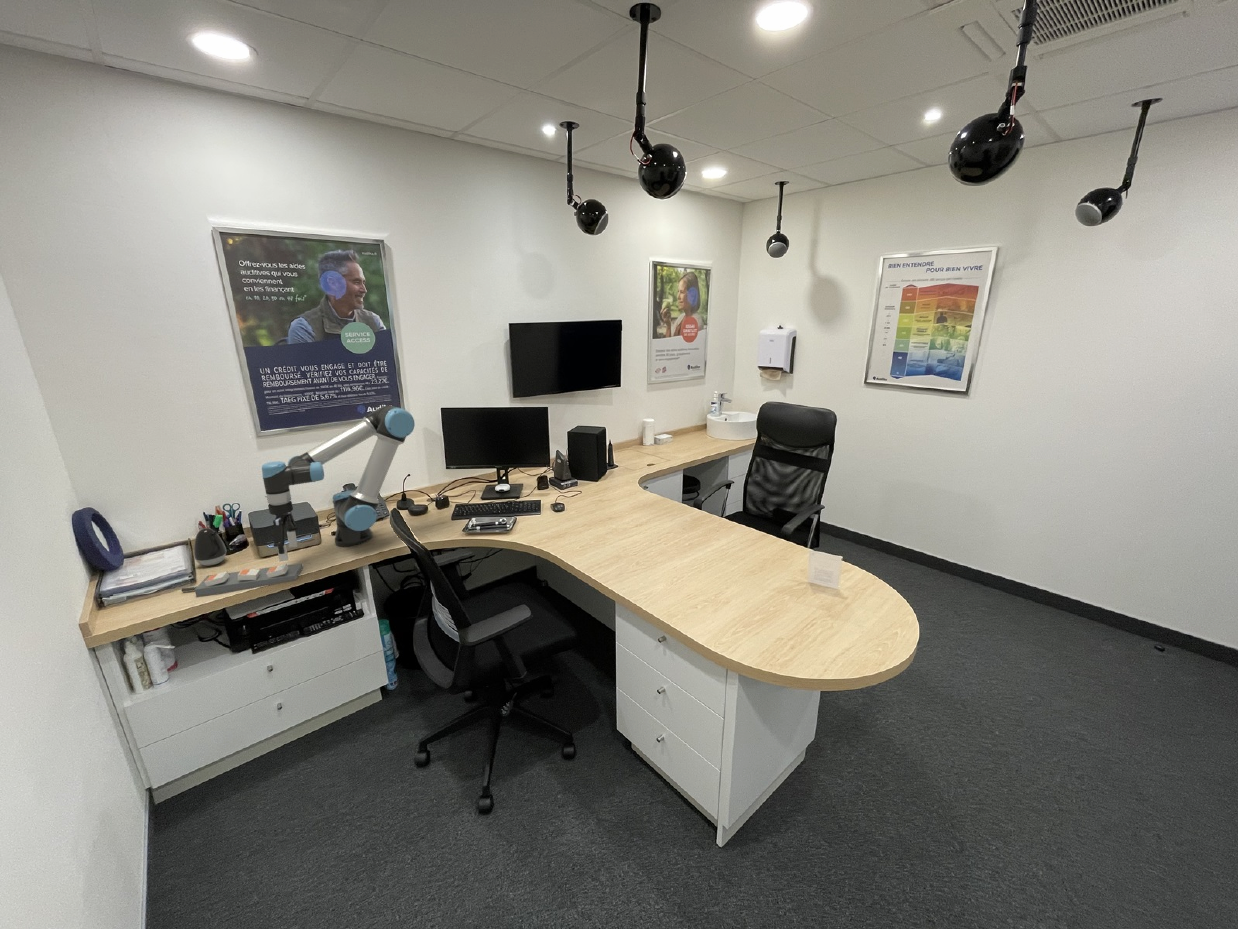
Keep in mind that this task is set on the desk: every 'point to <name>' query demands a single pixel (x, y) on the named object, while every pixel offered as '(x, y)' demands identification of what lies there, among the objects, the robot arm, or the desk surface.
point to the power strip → (245, 581)
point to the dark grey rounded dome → (209, 547)
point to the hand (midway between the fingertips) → (288, 553)
